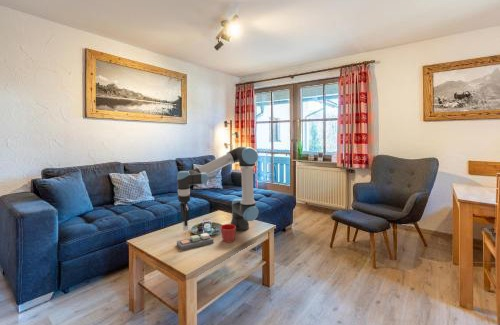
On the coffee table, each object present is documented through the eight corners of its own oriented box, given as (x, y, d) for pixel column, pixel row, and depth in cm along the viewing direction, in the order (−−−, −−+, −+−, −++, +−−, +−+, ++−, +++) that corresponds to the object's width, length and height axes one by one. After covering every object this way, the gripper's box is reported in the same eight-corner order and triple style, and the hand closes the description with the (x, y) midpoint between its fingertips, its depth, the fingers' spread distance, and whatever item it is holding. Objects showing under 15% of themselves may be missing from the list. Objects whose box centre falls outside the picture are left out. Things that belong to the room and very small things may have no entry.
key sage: (197, 237, 176) (197, 234, 176) (199, 240, 172) (199, 237, 172) (190, 239, 174) (190, 236, 174) (193, 241, 170) (193, 238, 170)
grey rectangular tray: (207, 237, 184) (207, 234, 183) (213, 242, 175) (213, 239, 175) (176, 244, 172) (176, 241, 171) (181, 250, 163) (181, 246, 163)
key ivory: (206, 235, 180) (206, 232, 180) (209, 238, 176) (209, 235, 176) (200, 237, 178) (200, 234, 177) (203, 239, 174) (202, 236, 173)
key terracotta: (187, 242, 173) (187, 239, 173) (189, 245, 169) (189, 242, 169) (180, 244, 170) (180, 241, 170) (182, 246, 166) (182, 243, 166)
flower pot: (221, 243, 174) (221, 230, 173) (220, 237, 185) (220, 224, 183) (236, 242, 176) (236, 229, 175) (234, 236, 187) (234, 223, 186)
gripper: (175, 193, 169) (176, 228, 172) (181, 197, 159) (183, 234, 161) (186, 192, 173) (187, 225, 176) (193, 196, 163) (194, 231, 165)
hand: (185, 229), depth 169 cm, fingers closed
